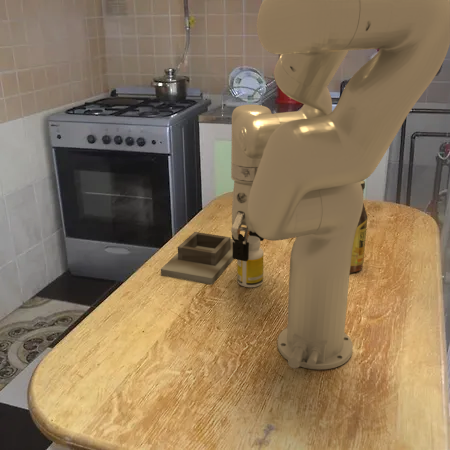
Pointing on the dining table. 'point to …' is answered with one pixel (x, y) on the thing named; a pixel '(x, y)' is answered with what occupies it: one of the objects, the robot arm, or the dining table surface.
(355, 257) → the sauce bottle
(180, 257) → the collar board
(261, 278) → the supplement bottle
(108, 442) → the dining table surface
